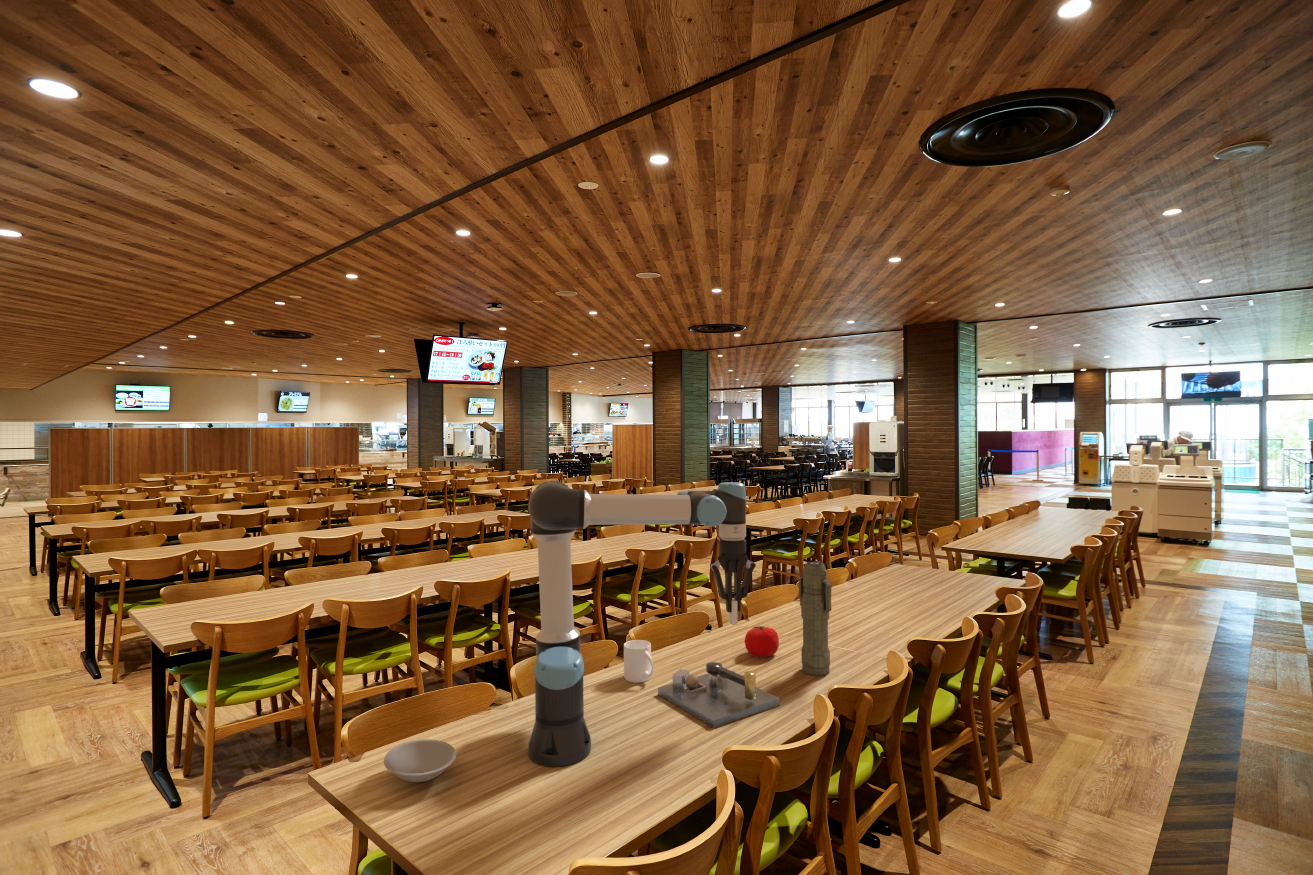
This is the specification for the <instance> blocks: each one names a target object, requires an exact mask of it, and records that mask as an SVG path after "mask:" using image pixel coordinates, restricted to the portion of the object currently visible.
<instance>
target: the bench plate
mask: <svg viewBox="0 0 1313 875" xmlns="http://www.w3.org/2000/svg"><path fill="white" fill-rule="evenodd" d="M689 675H690V670H686V669H682V668H680V669H678V670H677V671H675V672H674V673H673V674H672V683H669V684H667V685H663V686H659V687H657V695H658V696H660V697H661V698H662V699H664V700H666V701H668V702H669V703H671V704H673V705H675V706H676V707H678V708H679V709H681V710H683V711H685V712H686V713H687V714H690V715H691V716H693V717H695V718H696V719H698V720H700V721H701V722H703V723H704V724H705V725H707V726H709V727H711V728H713V729H717V728H718V727H721V726H724V725H725V726H726V725H727V724H730V723H733V722H736V721H739V720H741V719H742V720H743V719H744V718H747V717H750V716H753V715H756V714H758V713H762V712H764V711H767V710H770V709H773V708H776V707H778V706H780V705H781V704H780V702H781V700H780V697H778V696H776V695H774V694H772V693H769V692H767V691H766V690H764V689H761V688H759V687H758V686H756V699H753V700H749V699H746V698H745V686H743V685H741V684H738V683H736V682H734V681H732V680H729V679H727V689H726V690H724V691H723V690H721V689H719V688H718V676H721V675H718V674H710V673H706V674H701V675H698V676H697V677H698V679H699V685H698V687H697V688H695V689H690V688H688V687H687V685H686V678H687V677H688V676H689Z"/></svg>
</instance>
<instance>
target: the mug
mask: <svg viewBox="0 0 1313 875" xmlns="http://www.w3.org/2000/svg"><path fill="white" fill-rule="evenodd" d="M653 663H654V662H653V658H652V643H651V642H650V641H648V640H643V639H633V640H629V641H626V642H625V643H623V676H624V679H625V681H627V682H630V683H634V684H635V683H636V684H638V683H644V682H647V681H649V680H650V679H651V677H652V676H653V673H654V664H653Z"/></svg>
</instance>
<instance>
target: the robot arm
mask: <svg viewBox="0 0 1313 875" xmlns="http://www.w3.org/2000/svg"><path fill="white" fill-rule="evenodd" d="M717 487H718V488H717V489H715V490H685V491H684V490H683V491H681V490H680V491H678V492H677V493H676V494H644V493H643V494H638V493H637V494H635V493H634V494H632V493H630V494H628V493H627V494H626V493H621V494H619V493H615V494H614V493H610V494H609V493H589V492H588V491H587V490H586V489H574V488H570V487H569V486H568V485H567V484H565V483H564V482H562V481H559V480H550V481H549V480H548V481H544V482H542V483H540V484H538V486H536V487H535V489H533V491H532V493H531V495H530V499H529V501H528V514H529V517H530V531H531V532H530V533H531V535H532V536H533V537H534V538H535V539H536V540H537V557H538V558H537V559H538V562H537V563H538V582H539V586H538V587H539V604H540V606H539V607H540V631H539V632H538V633H537V634H535V651H536V652H535V653H536V659H535V661H534V662H535V664H534V669H533V674H534V689H535V690H534V691H535V692H534V693H535V694H534V696H535V698H534V699H535V700H534V701H535V702H534V704H535V706H534V707H535V710H534V712H535V713H534V714H535V721H534V725H533V728H532V732H531V734H530V737H529V741H528V746H527V747H528V752H527V753H528V758H529V759H530V760H531V761H532V762H533V763H535V764H538V765H541V766H545V767H565V766H570V765H574V764H576V763H578V762H581V761H582V760H584V759H586V758H587V757H588V756H589V755H590V753H591V751H592V738H591V734H590V731H589V729H588V725H587V723H586V720H585V716H584V715H585V714H584V712H585V711H584V705H585V704H584V703H585V702H584V672H585V665H584V659H583V655H582V651H581V650H582V648H581V647H582V646H581V633H580V630H578V628H576V627H575V620H574V596H573V575H572V574H573V573H572V552H571V550H572V549H571V538H572V536H573V535H574V534H575V533H576V531H577V530H580V529H581V530H583V529H584V530H585V529H586V528H587V527H588V526H589V525H590V526H592V525H594V526H595V525H604V526H605V525H609V526H610V525H615V526H616V525H618V526H619V525H695V526H698V525H702V526H705V527H717V526H718V537H719V538H720V539H719V540H718V556H717V560H716V561H715V562H714V563H710V564H709V568H710V569H711V570H712V572H713V576H714V581H715V584H716V588H717V591H718V592H717V593H718V596H719V597H720V598H721V599H722V600H725V610H726V612H727V613H728V616H729V618H728V619H729V620H728V622H729V624H731V625H732V626H738V624H739V622H738V613H739V612H741V610H742V609H741V608H742V607H741V601H743V599H744V598H747V597H748V593H749V589H750V585H751V579H752V575H753V571H754V570H755V568H756V565H757V564H756V563H755V562H753V561H751V560H749V557H748V556H747V540H746V537H747V521H746V520H747V518H746V516H747V494H746V493H747V492H746V486H745V485H744V483H741V482H735V481H733V482H731V481H729V482H728V481H727V482H719V484H718V486H717ZM720 566H721V567H722V570H724V571H723V572H724V583H723V579H722V575H721V572H720V569H721V567H720ZM744 567H745V570H744V575H743V579H742V570H743V569H744ZM733 597H734V598H733Z"/></svg>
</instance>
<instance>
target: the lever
mask: <svg viewBox="0 0 1313 875" xmlns="http://www.w3.org/2000/svg"><path fill="white" fill-rule="evenodd" d="M705 668H706V669H705V671H706V674H708V673H710V674H718V675H721V676H718V688H719V689H721V690H723V691H724V690H726V689H727V679H729V680H732V681H734V682H736V683H738V684H741V685H743V686H745V698H746V699H749V700H753V699H756V687H757V686H756V685H757V681H756V679H757V678H756V675H757V674H756V672H755V671H753V670H749V671H748V670H747V671H745V672H744V675H741V674H739V673H736V672H735V671H732V670H730V669H728V668H725V667H723V664H722V663H720V662H715V661H714V662H713V661H711V662H708V663H706V665H705Z"/></svg>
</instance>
